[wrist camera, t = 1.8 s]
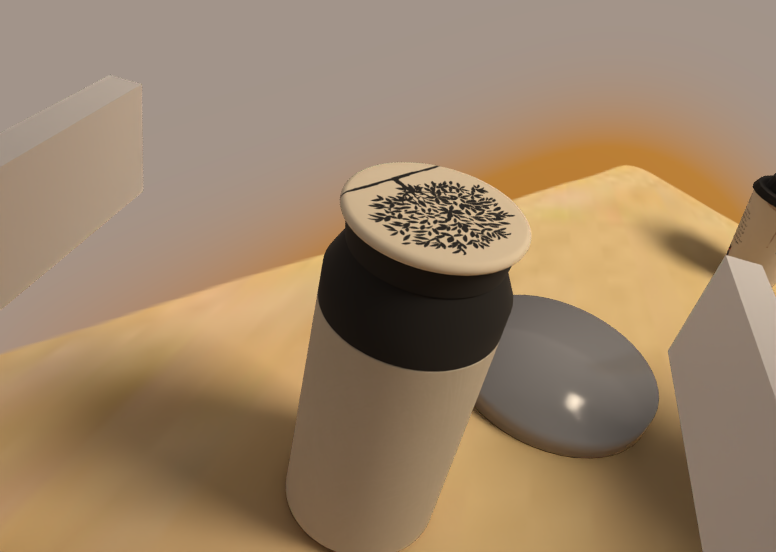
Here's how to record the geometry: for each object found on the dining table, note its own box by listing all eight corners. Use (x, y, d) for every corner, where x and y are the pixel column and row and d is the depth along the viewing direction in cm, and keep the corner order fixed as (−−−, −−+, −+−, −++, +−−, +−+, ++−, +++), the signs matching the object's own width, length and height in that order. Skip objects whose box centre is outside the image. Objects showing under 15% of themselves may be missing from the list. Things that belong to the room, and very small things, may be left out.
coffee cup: (692, 262, 64) (745, 169, 58) (735, 250, 67) (789, 161, 62) (755, 308, 59) (819, 211, 54) (797, 293, 63) (861, 201, 57)
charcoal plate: (641, 342, 52) (649, 328, 51) (658, 486, 41) (669, 471, 40) (465, 290, 53) (471, 274, 52) (435, 416, 42) (441, 399, 41)
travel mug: (461, 520, 36) (581, 245, 26) (334, 589, 32) (417, 292, 21) (379, 416, 41) (452, 148, 30) (258, 464, 37) (296, 170, 26)
